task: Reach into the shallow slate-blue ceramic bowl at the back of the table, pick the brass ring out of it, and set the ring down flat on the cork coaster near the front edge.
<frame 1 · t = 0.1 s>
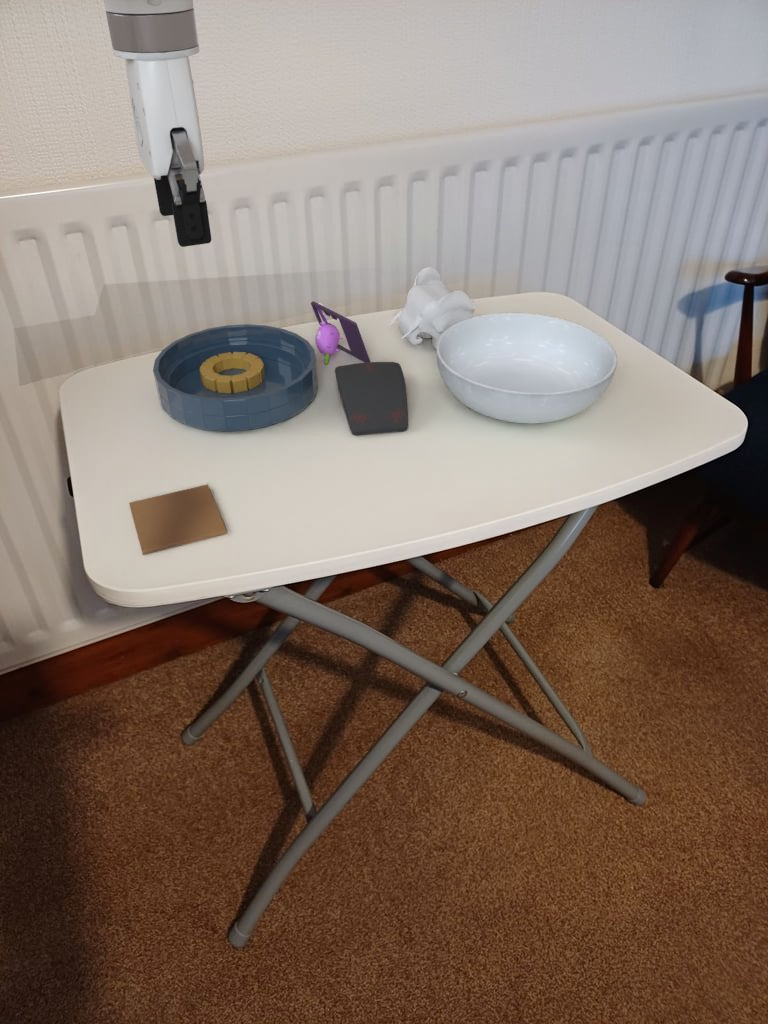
hand: (185, 228, 80), 22 cm above the table, tool pointing down, fingers open, 9 cm apart
bowl: (239, 392, 97), on the table
coaster: (177, 519, 78), on the table
ring: (233, 377, 99), resting on bowl
purple piece: (335, 358, 104), on the table
serving bowl: (519, 401, 96), on the table
elephant figurine: (433, 343, 108), on the table
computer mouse: (371, 405, 95), on the table
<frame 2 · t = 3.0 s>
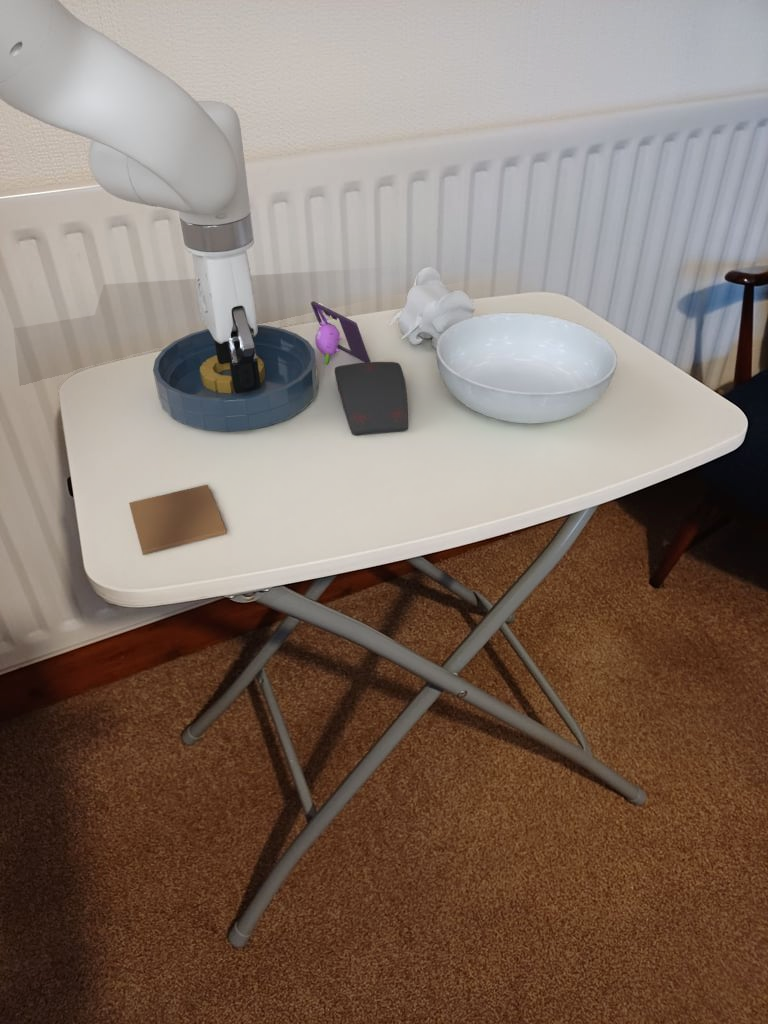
hand: (238, 374, 96), 2 cm above the table, tool pointing down, fingers open, 7 cm apart
ring: (233, 377, 99), resting on bowl, touching gripper
everything else where it was.
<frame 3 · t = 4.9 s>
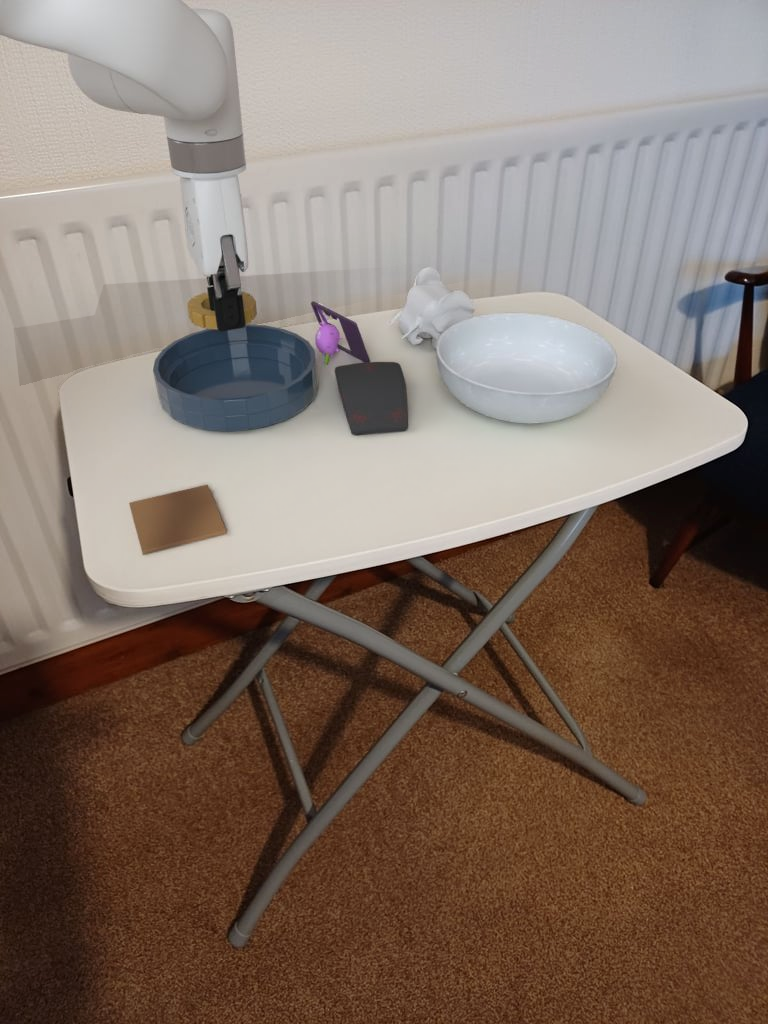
hand: (228, 322, 91), 9 cm above the table, tool pointing down, fingers closed on ring
ring: (223, 315, 93), point 9 cm above the table, touching gripper
everything else where it was.
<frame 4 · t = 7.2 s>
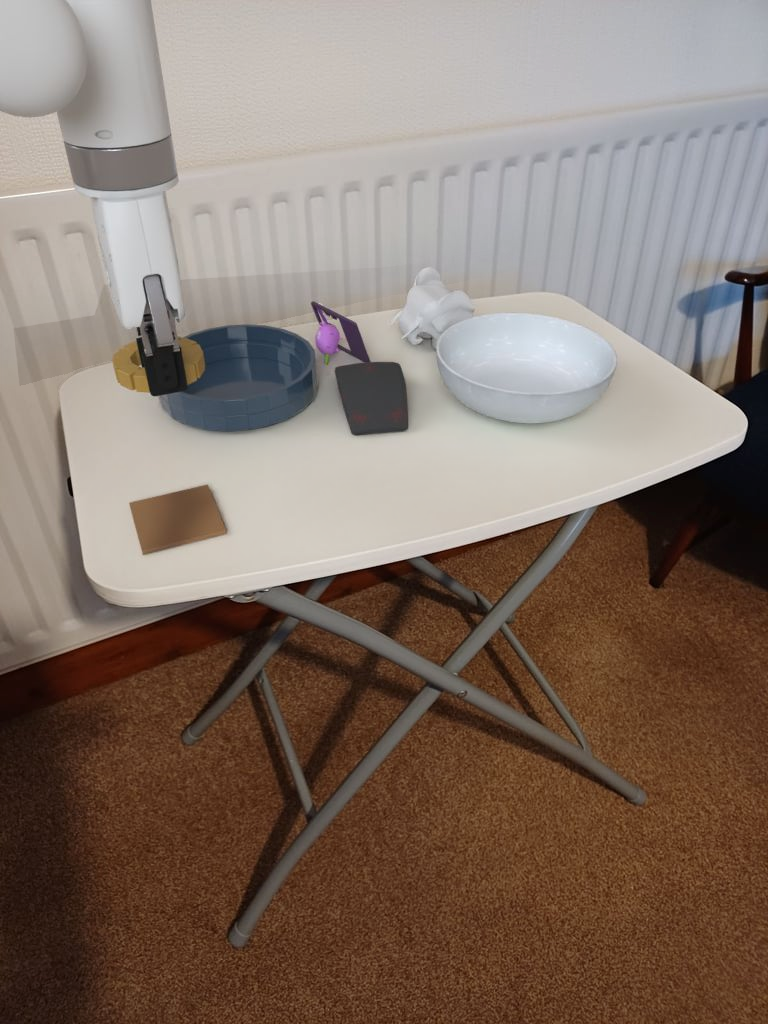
hand: (165, 383, 69), 15 cm above the table, tool pointing down, fingers closed on ring
ring: (160, 371, 71), point 15 cm above the table, touching gripper
everything else where it was.
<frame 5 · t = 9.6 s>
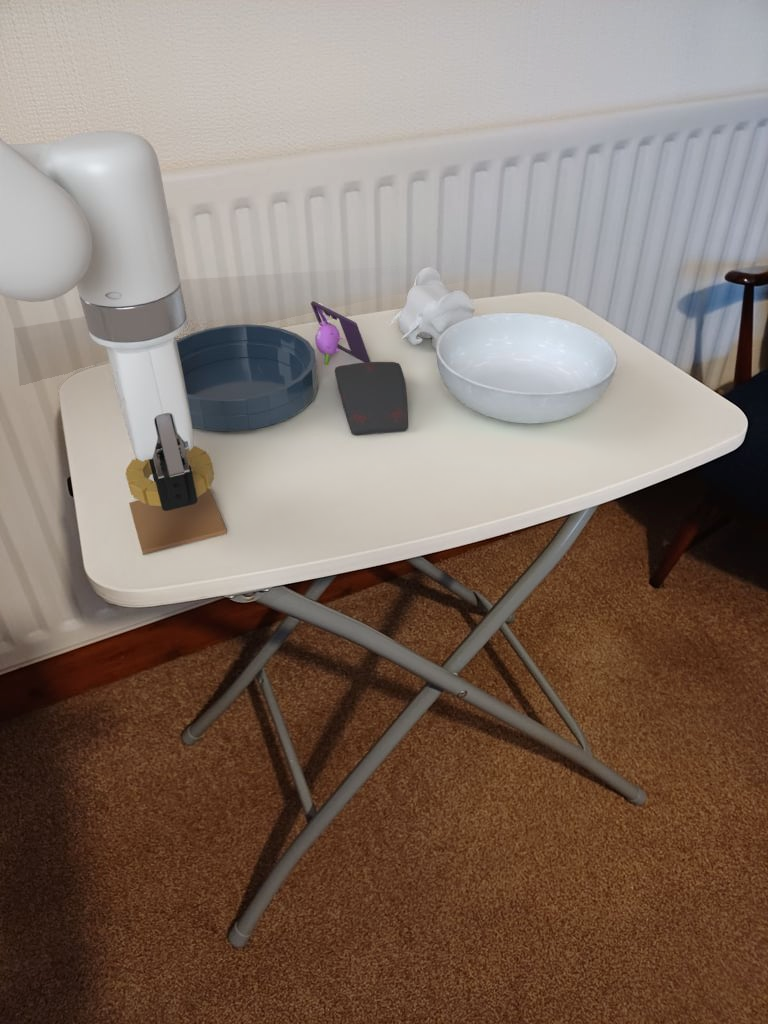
hand: (176, 495, 72), 5 cm above the table, tool pointing down, fingers closed on ring
ring: (171, 480, 74), point 5 cm above the table, touching gripper
everything else where it was.
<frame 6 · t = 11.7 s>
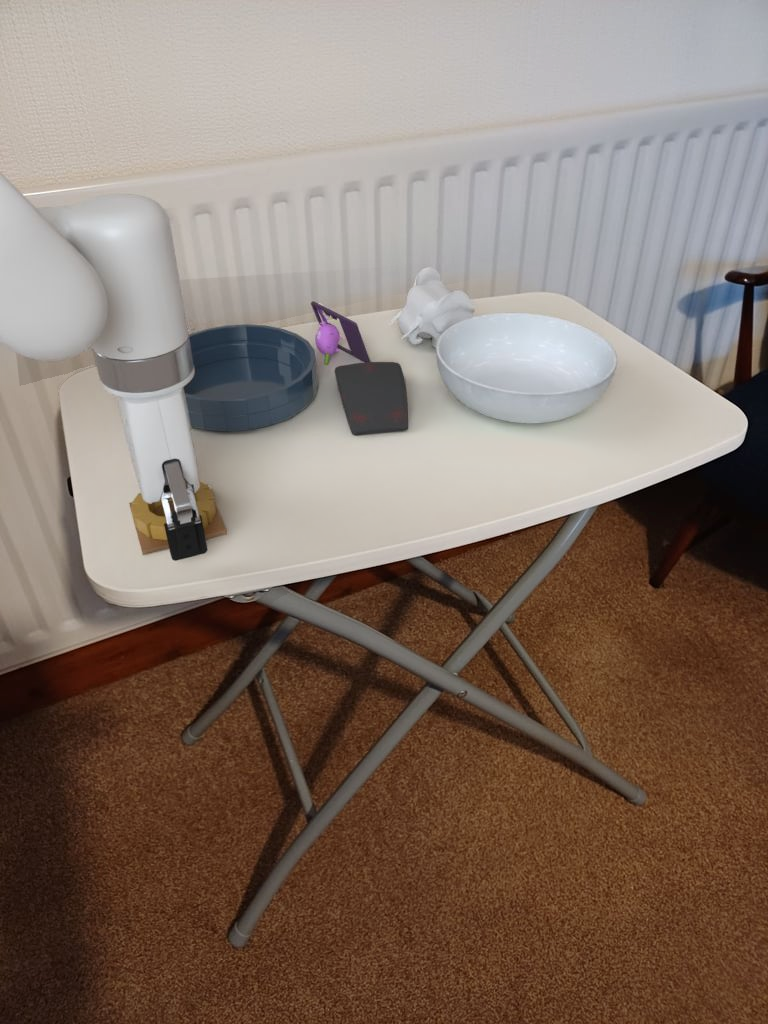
hand: (179, 523, 74), 2 cm above the table, tool pointing down, fingers open, 9 cm apart
ring: (175, 514, 77), resting on coaster
everything else where it was.
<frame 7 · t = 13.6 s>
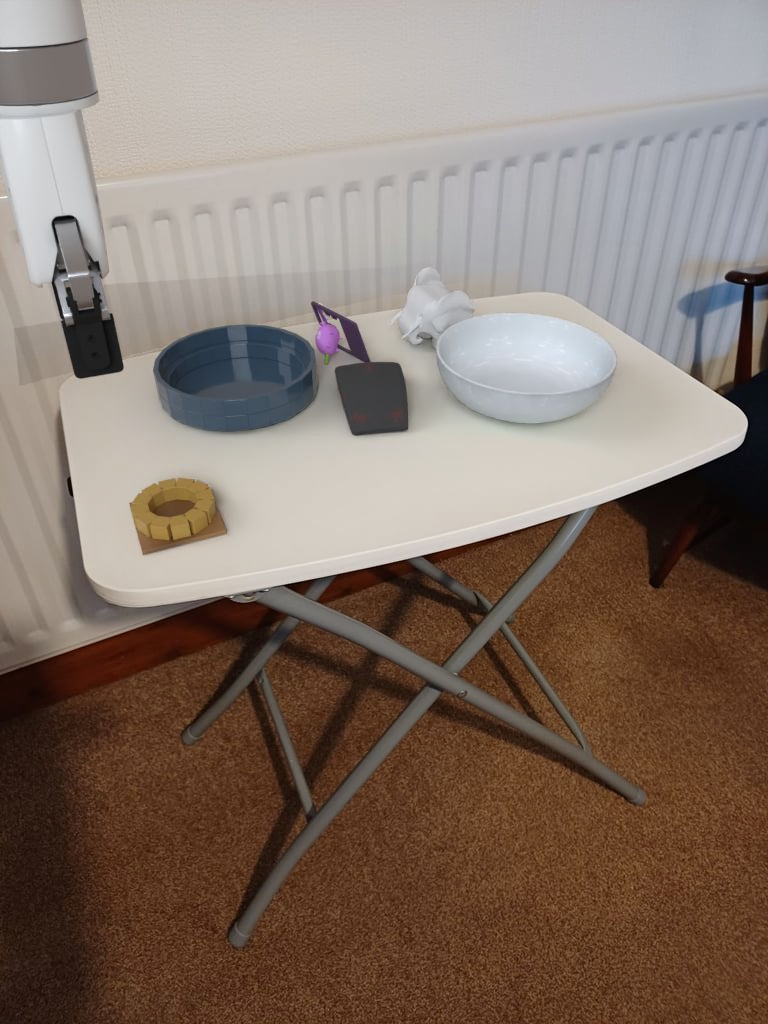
hand: (90, 343, 57), 23 cm above the table, tool pointing down, fingers open, 9 cm apart
nothing on the table moved.
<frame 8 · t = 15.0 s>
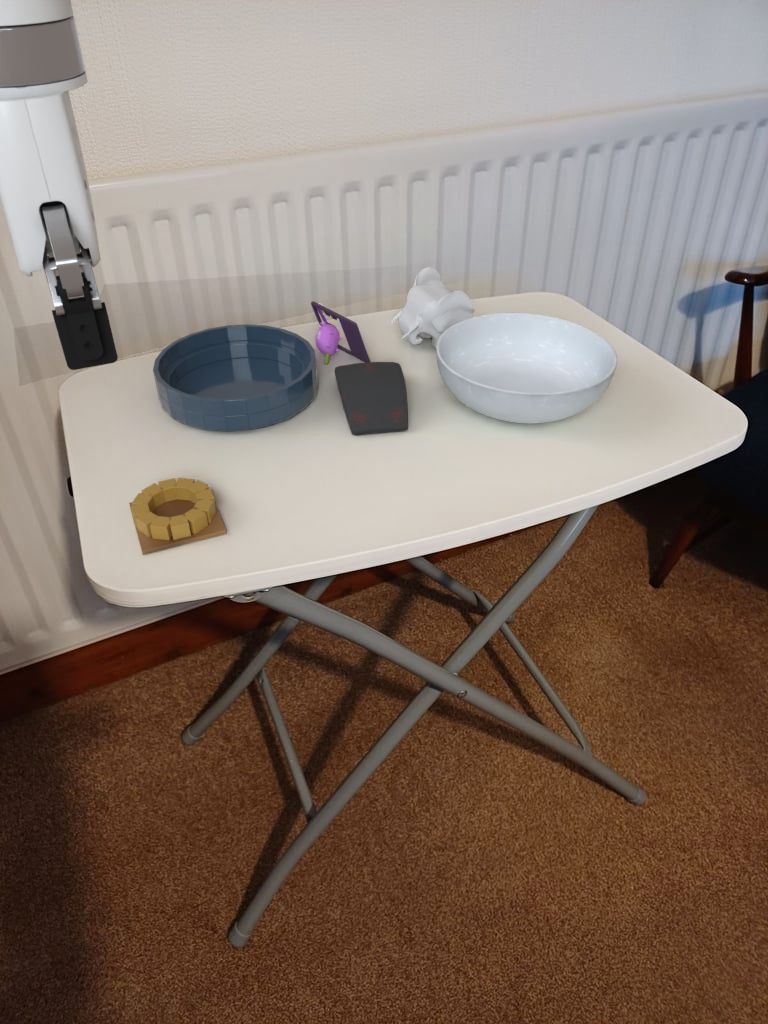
hand: (85, 333, 55), 24 cm above the table, tool pointing down, fingers open, 9 cm apart
nothing on the table moved.
at the end: ring 0.3 cm off-centre on the coaster, point 0.5 cm above the coaster's base; ring tilted 0°; the gripper is holding nothing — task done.
